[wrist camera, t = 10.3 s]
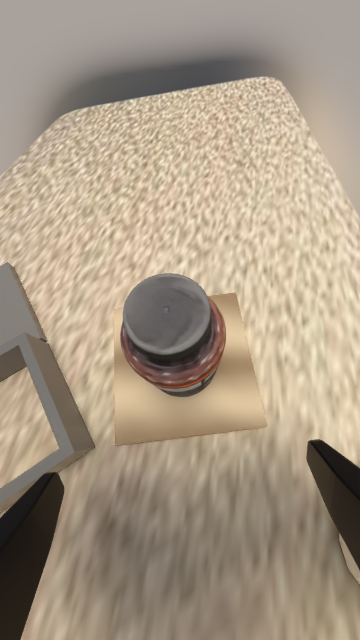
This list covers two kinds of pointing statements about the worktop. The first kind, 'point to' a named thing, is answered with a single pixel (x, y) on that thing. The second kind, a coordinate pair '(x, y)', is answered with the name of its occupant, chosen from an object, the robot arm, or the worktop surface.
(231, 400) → the board
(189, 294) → the supplement bottle
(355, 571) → the white cup
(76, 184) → the worktop surface
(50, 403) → the case
